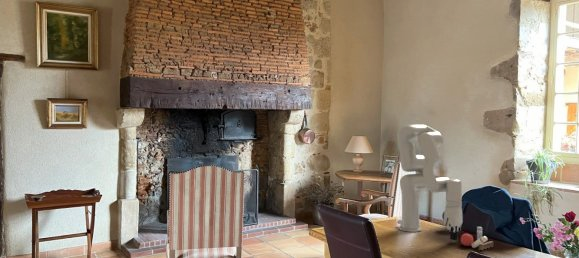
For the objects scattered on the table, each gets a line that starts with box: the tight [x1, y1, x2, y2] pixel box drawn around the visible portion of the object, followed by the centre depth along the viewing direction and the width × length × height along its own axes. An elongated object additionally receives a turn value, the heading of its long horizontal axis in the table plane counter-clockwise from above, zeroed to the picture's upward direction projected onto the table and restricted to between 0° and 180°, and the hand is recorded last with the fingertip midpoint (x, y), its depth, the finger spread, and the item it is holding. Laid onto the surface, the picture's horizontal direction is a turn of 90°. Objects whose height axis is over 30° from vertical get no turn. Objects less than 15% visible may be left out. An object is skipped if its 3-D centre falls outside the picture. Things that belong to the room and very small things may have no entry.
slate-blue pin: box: [476, 226, 483, 241], centre depth 224 cm, size 2×2×8 cm
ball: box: [460, 233, 475, 247], centre depth 222 cm, size 6×6×6 cm
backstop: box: [478, 240, 494, 251], centre depth 217 cm, size 1×11×2 cm, turn 127°
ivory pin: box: [470, 235, 489, 249], centre depth 215 cm, size 2×2×8 cm
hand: (453, 239), depth 228 cm, fingers closed
